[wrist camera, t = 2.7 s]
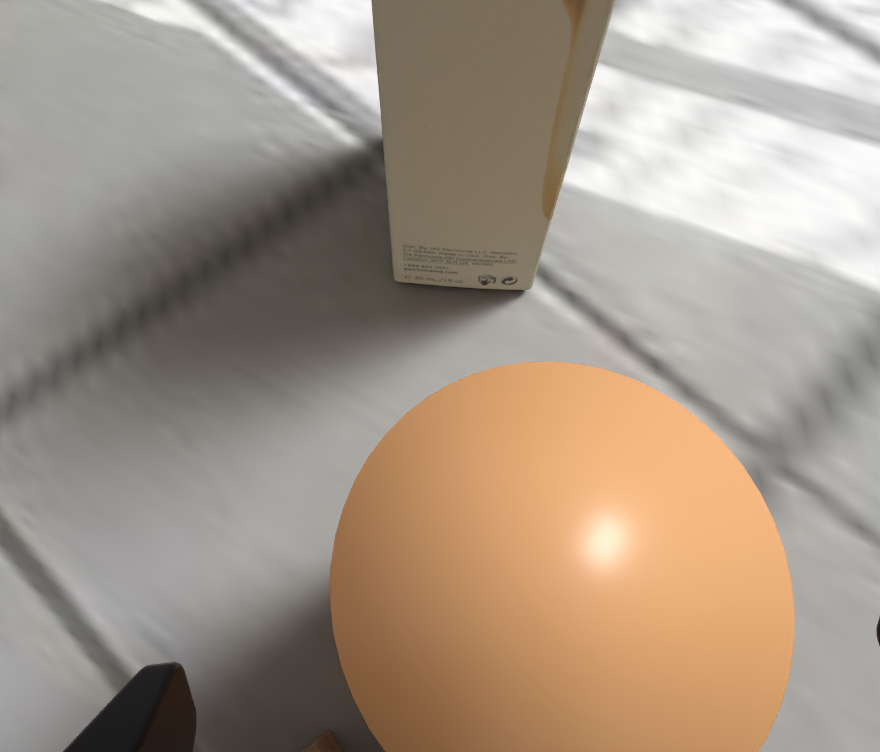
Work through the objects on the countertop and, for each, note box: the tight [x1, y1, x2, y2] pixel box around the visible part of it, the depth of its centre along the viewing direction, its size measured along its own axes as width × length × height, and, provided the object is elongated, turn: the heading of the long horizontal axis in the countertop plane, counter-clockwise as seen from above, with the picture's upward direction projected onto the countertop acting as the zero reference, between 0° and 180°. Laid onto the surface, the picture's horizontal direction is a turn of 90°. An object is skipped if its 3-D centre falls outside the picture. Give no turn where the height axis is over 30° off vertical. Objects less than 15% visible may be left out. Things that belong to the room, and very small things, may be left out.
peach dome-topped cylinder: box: [330, 362, 795, 752], centre depth 12 cm, size 5×5×10 cm
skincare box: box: [372, 0, 616, 290], centre depth 15 cm, size 6×4×12 cm
